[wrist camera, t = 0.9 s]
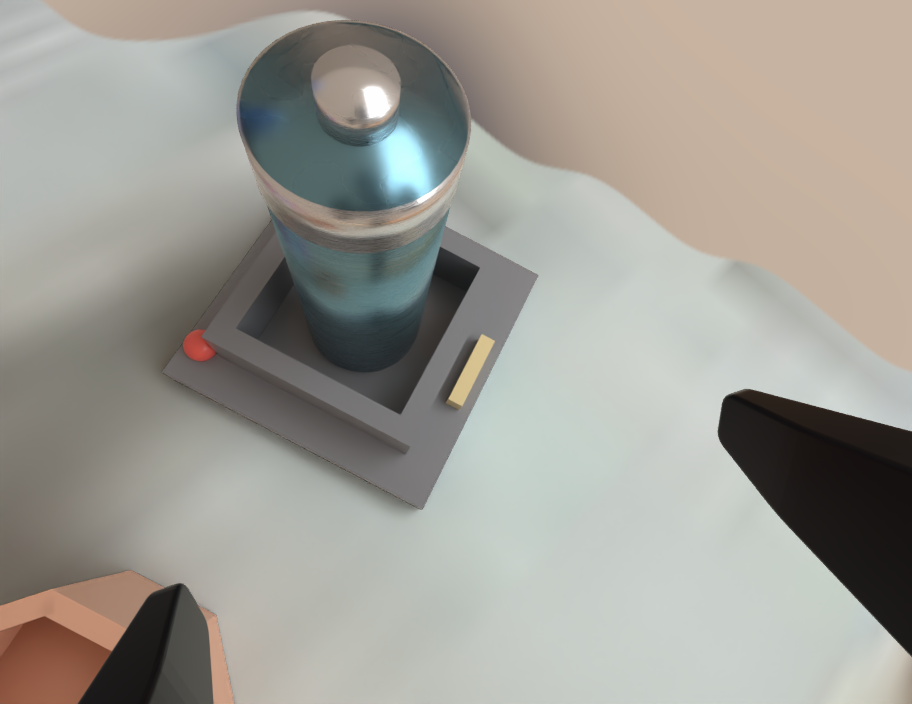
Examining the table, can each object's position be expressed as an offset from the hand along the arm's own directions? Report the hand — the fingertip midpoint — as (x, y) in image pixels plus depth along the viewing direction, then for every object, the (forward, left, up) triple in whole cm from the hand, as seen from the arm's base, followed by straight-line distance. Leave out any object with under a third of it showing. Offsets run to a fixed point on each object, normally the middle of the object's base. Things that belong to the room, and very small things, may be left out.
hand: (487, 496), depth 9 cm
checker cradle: (+5, -5, -13) cm, 15 cm away
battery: (+5, -5, -12) cm, 14 cm away
